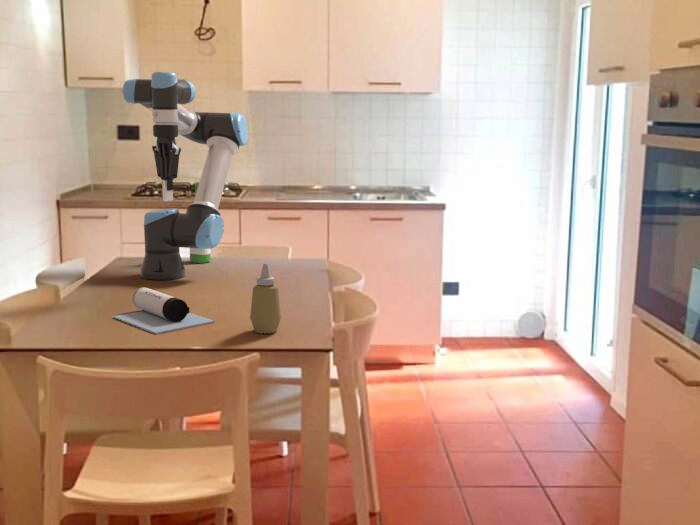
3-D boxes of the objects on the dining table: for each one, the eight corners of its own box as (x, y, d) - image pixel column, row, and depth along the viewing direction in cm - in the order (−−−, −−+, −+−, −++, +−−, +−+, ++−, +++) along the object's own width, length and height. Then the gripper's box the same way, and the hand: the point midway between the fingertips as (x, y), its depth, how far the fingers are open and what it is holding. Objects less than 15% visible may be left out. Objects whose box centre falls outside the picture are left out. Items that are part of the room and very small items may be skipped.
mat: (113, 318, 218) (113, 316, 218) (170, 307, 231) (170, 306, 231) (156, 334, 203) (156, 332, 203) (214, 322, 215) (214, 320, 215)
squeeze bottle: (250, 327, 211) (250, 261, 208) (281, 327, 212) (281, 261, 209) (249, 335, 204) (249, 266, 200) (281, 335, 204) (281, 266, 201)
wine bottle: (193, 259, 307) (192, 182, 301) (213, 260, 306) (212, 182, 300) (187, 263, 299) (185, 183, 294) (207, 264, 298) (205, 184, 293)
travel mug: (152, 308, 230) (188, 321, 215) (131, 308, 225) (167, 323, 211) (153, 286, 229) (190, 299, 215) (133, 287, 224) (169, 299, 210)
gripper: (143, 123, 244) (146, 199, 249) (166, 124, 235) (168, 203, 240) (164, 123, 249) (167, 197, 254) (187, 124, 240) (190, 201, 245)
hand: (168, 200), depth 247 cm, fingers closed
